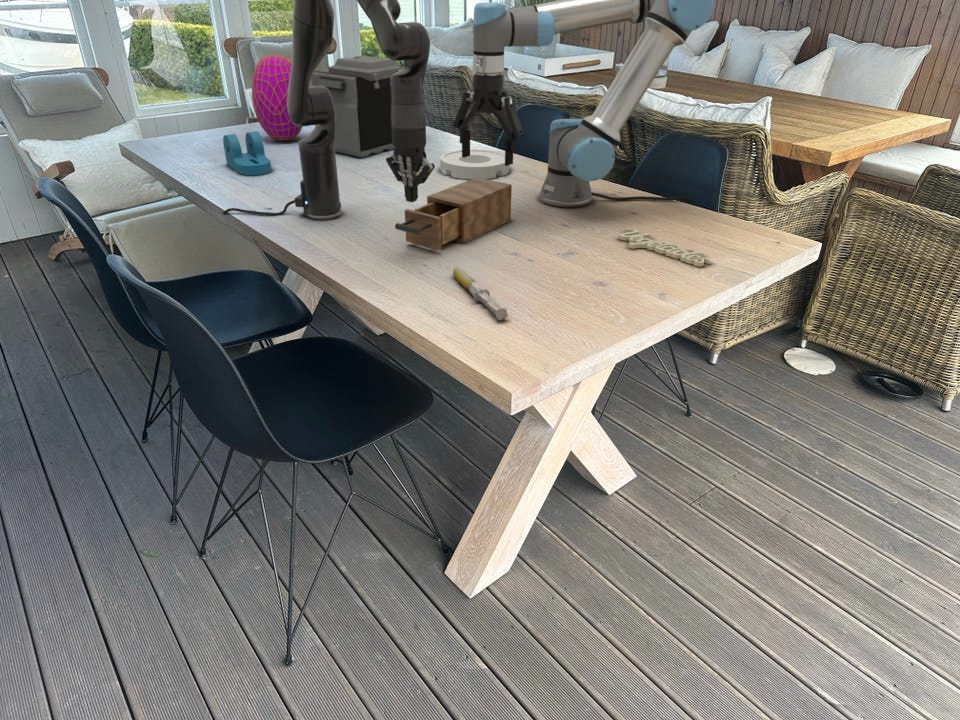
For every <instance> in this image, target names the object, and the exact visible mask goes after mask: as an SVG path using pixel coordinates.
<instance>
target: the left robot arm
mask: <svg viewBox="0 0 960 720" xmlns="http://www.w3.org/2000/svg"><path fill="white" fill-rule="evenodd" d="M356 2H357V3H358V5H359V6H360V8H361V9H362V11H363V12H364V14H365V15H366V16H367V18H368V20H369V21H370V23H371V26H372V29H373V30H372V31H373V32H374V35H375V38H376V41H377V43H378V46H379V49H380V51H381V52H382V54H383V55H384V56H385V57H386V58H387V59H391V60H393V61H394V62H402V61H403V63H402V66H403V67H402V69H401V70H400V71H398V72H397V73H395V74H393V75H392V77H391V82H390V84H391V127H392V144H393V146H394V147H395V148H394V149H393V151H392V153H393V154H392V155H390V156H387V157H386V158H385V161H386V163H387V165H388V167H389V168H390V171H391V172H392V175H394V177H395V179H396V181H397V182H401V183H402V185H403V188H404V199H405V201H406V202H409V203H415V202H417V200H418V198H419V185H421V184H425V183H426V181H427V180H428V178H429V177H430V175H431V174H432V172H433V171H434V170H435V168H436V165H435V163H433V162H431V163H430V161H429V160H428V159H427V153H426V149H425V148H426V145H427V123H426V119H427V118H426V109H425V93H424V80H425V76H426V72H427V67H428V62H429V57H430V52H431V40H430V39H431V38H430V36H429V32H428V30H427V28H426V26H424V25H423V24H422V23H420V22H417V21H409V22H397V20H398V19H399V17H400V15H401V11H402V8H401V4H400V2H399V0H356ZM292 10H293V11H292V44H291V45H292V48H291V71H290V78H289V86H288V94H287V110H288V115H289V118H290V120H291V122H292V123H293V124H294V125H296V126H303V127H310V126H314V129H312V131H311V132H310V133H308V134H307V135H306V136H303V138H301V139H300V140H299V142H298V152H299V159H300V167H301V175H302V180H301V181H300V183H299V186H300V194H299V195H297V196H295V197H294V200H291V201H288V202H287V203H285V204H284V208H283V210H282V211H279V212H270V211H269V212H267V211H257V210H247V209H242V208H237V207H230V208H227V209H226V210H224V211H222V215H226V214H228V213H229V212H233V211H234V212H240V213H245V214H253V215H260V216H282V215H284V214H285V213H286V212H287V210H288V208H289V206H291V205H292V204H294V205H295V207H296V208H302V209H303V216H304V217H307V218H309V219H313V220H330V219H336V218H338V217H340V216H341V215H342V209H341V208H342V202H341V197H340V189H339V178H338V166H337V158H336V152H335V121H334V105H333V99H332V96H331V93H330V91H329V90H328V89H327V88H326V87H324V86H312V85H311V86H310V83H311V81H312V79H311V77H312V74H313V72H314V71H316V69H317V67H318V66H319V65H320V63H321V62H322V60H323V59H324V58H325V56H326V54H327V53H328V51H329V50H330V48H331V45H332V43H333V39H334V27H335V10H334V7H333V4H332V1H331V0H293V9H292Z"/></svg>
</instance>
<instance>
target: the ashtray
mask: <svg viewBox="0 0 960 720" xmlns="http://www.w3.org/2000/svg"><path fill="white" fill-rule="evenodd" d="M439 169H440V172H441V173H442V174H443V175H445V176H451V177H452V178H455V179H461V180H462V179H463V180H471V179H474V178H476V177H478V178H482V179H487V180H492V179H496V178H497V177H504V176H506V175H507V174H508V173H509V172H510V165H508V166H505V153H503V152H500V151H496V150H490V149H479V148H478V149H477V148H473V149H471V148H470V156H468V157H465V158H463V157H462V149H458V150H451V151H448V152H445V153H442V154H441V155H440V157H439Z"/></svg>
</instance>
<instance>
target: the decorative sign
mask: <svg viewBox="0 0 960 720" xmlns="http://www.w3.org/2000/svg"><path fill="white" fill-rule="evenodd" d="M618 239H619V240H620V241H624V242H625V241H628V243H629V244H628V249H632V250H633V249H646V250H649V251H654V253H657V254H660V255H664V256H667V257H671V258H673V259H675V260H680V261H681V262H683V263H684V262H685V263H687V264H690V265H693V266H695V267H703V266H704V265H705V264H706V265H710V264H711V263H710V262H711V259H710V258H709V257H704V254H705V253H704V252H703V251H694V248H691V247H690V248H689V247H688V248H679V247H678V245H676V244H674V243H673V242H667V241H662V242H661V241H656V240H653V239H651V233H647V232H646V233H639V230H638V229H635V228H627V227H626V228H625V231H624V232H623V233H620V234H619V237H618Z"/></svg>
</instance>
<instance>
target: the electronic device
mask: <svg viewBox="0 0 960 720" xmlns="http://www.w3.org/2000/svg"><path fill="white" fill-rule="evenodd" d="M402 67H403V65H400V64H396V61H393V60H391V59H389V58H387V57H386V58H385V57H377V56H367V55H356V56H353V57H350V58H349V57H343V58H342V57H341V58H337V59H336V60H335V63H334V64H333V65H330V66H329V67H328V72H327V71H320V70H315V71H314V72H313V74H312V77H311V86H324V87H326V88H327V89H328V90H329V91H330V93H331V96H332V99H333V105H334V121H335V153H340V154H344V155H348V156H353V157H357V158H362V159H363V158H366V157H367V158H368V157H369V155H371V154H375V155H377V154H381V153H382V152H383V151H391V150H394V148H395V147H394V146H393V144H392V127H391V84H390V82H391V77H392V75H393V74H395V73H397V72H398V71H400V70H401V69H402Z"/></svg>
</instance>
